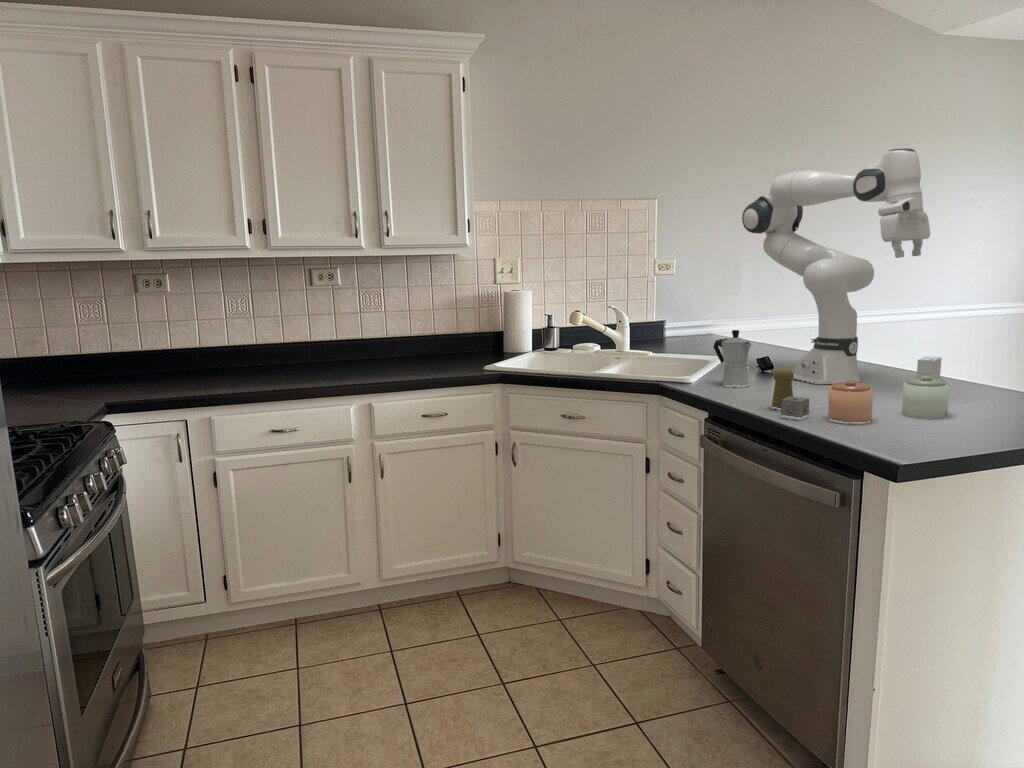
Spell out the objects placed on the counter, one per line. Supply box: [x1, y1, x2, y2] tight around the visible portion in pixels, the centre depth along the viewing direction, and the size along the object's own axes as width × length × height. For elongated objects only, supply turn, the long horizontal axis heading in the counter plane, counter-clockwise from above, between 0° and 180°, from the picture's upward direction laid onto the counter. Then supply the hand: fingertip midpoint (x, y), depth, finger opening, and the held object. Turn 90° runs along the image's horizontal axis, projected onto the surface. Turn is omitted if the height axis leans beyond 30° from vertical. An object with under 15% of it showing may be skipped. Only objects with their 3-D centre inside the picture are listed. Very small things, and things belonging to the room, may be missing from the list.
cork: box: [771, 368, 794, 408], centre depth 196 cm, size 6×6×11 cm
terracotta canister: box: [827, 381, 874, 422], centre depth 180 cm, size 10×10×10 cm
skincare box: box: [915, 356, 942, 379], centre depth 195 cm, size 6×4×12 cm
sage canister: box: [901, 376, 950, 420], centre depth 182 cm, size 10×10×10 cm
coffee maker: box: [713, 329, 753, 386], centre depth 232 cm, size 15×9×18 cm, turn 34°
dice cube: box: [780, 395, 810, 418], centre depth 186 cm, size 5×5×5 cm
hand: (908, 256), depth 202 cm, fingers open, 8 cm apart
